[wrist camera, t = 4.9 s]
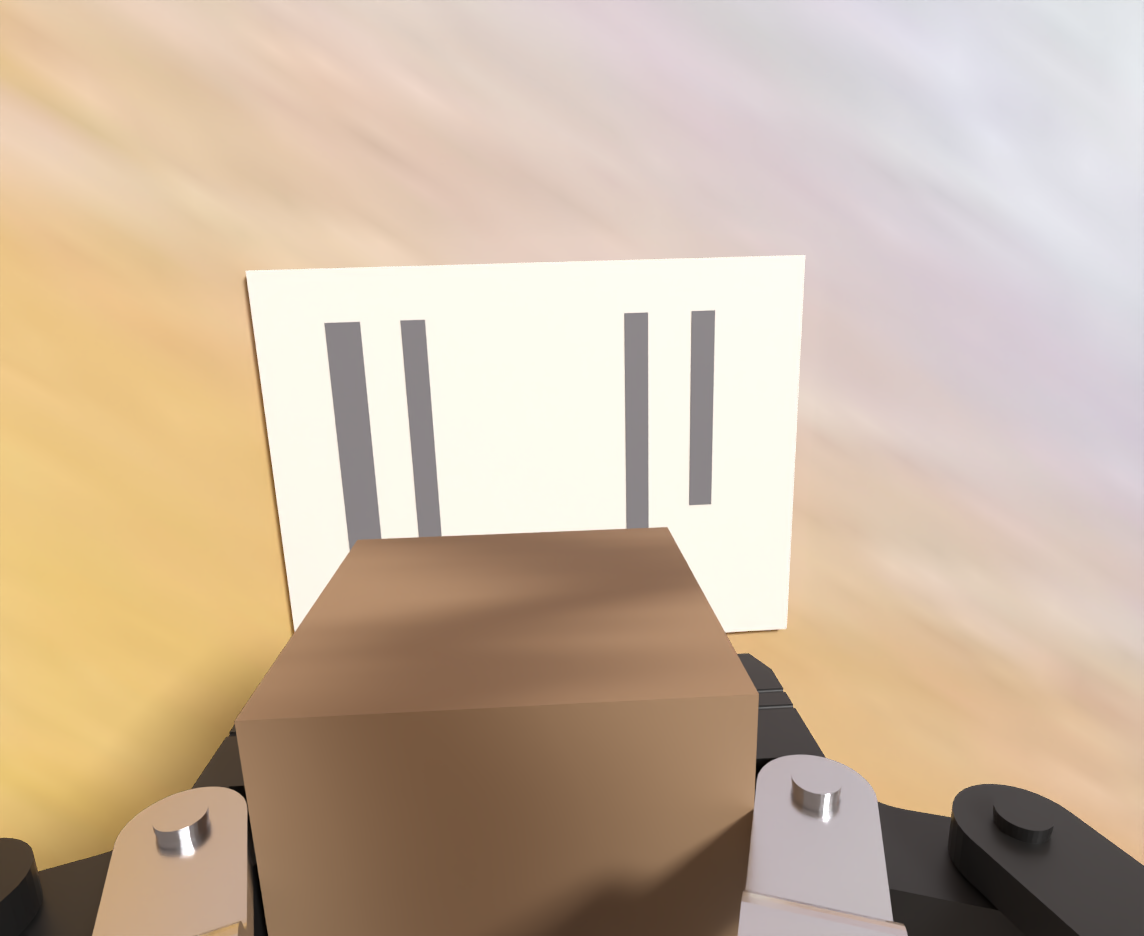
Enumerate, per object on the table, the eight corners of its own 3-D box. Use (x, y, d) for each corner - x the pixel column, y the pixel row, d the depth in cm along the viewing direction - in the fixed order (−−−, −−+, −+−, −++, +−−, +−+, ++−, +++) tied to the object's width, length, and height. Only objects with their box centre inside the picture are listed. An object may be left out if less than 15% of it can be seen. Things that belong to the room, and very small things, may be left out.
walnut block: (667, 526, 12) (759, 693, 7) (665, 790, 13) (741, 1084, 8) (357, 539, 12) (233, 721, 7) (385, 806, 13) (297, 1119, 8)
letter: (801, 255, 22) (805, 255, 21) (783, 624, 25) (786, 629, 24) (249, 270, 21) (245, 270, 20) (301, 653, 24) (298, 658, 23)
